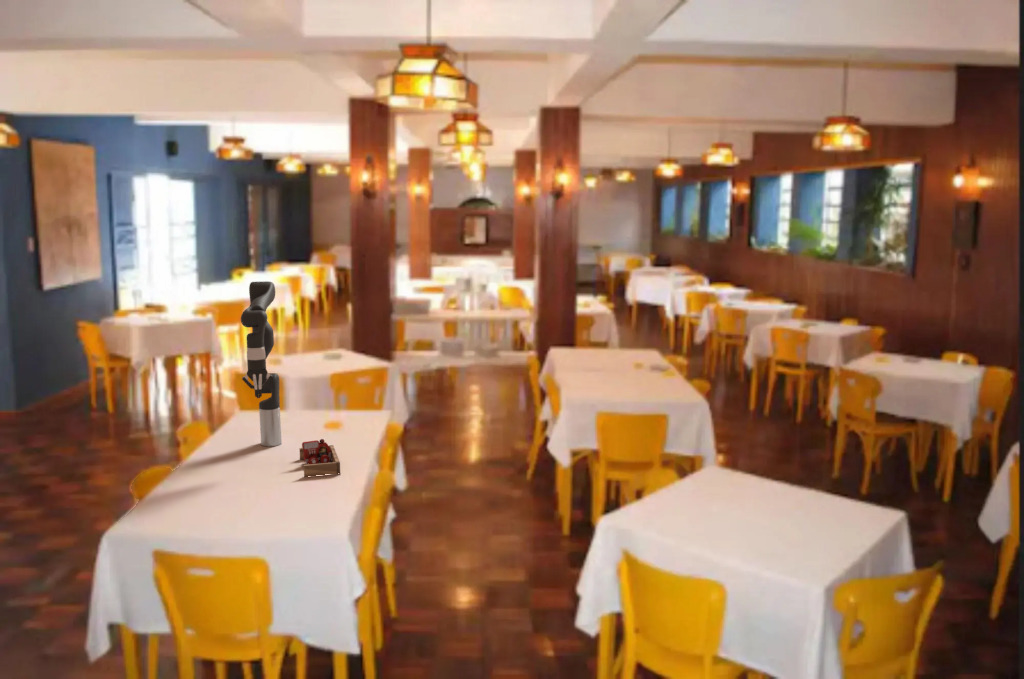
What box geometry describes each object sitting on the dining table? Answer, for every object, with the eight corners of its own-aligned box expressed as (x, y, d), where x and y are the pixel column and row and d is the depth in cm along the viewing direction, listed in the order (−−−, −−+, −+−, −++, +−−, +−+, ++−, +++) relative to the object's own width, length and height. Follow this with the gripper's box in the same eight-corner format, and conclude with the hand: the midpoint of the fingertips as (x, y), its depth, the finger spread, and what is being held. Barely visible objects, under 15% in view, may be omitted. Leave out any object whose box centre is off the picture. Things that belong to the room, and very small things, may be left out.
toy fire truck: (334, 463, 390) (333, 440, 388) (305, 467, 384) (304, 444, 382) (329, 459, 396) (328, 436, 394) (301, 463, 390) (299, 440, 388)
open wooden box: (299, 459, 396) (299, 448, 395) (333, 456, 400) (333, 445, 399) (304, 477, 370) (303, 465, 370) (340, 474, 374) (339, 462, 374)
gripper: (272, 355, 388) (274, 394, 391) (239, 357, 384) (242, 397, 387) (272, 358, 381) (275, 398, 383) (240, 360, 377) (242, 400, 380)
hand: (258, 397), depth 385 cm, fingers closed
